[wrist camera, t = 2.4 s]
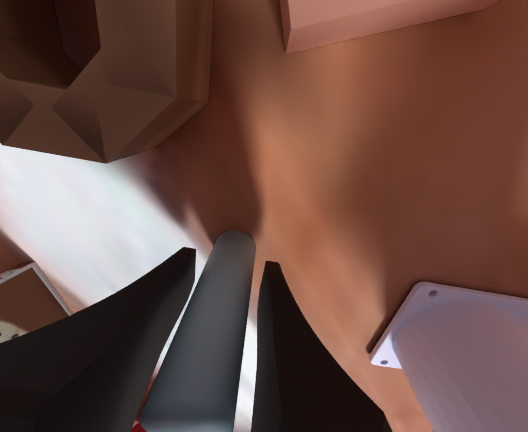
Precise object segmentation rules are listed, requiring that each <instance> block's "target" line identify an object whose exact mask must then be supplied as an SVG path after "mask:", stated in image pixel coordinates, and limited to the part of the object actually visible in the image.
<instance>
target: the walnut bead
mask: <svg viewBox="0 0 528 432" xmlns="http://www.w3.org/2000/svg"><path fill="white" fill-rule="evenodd" d="M95 6H96V14H97V21H98V29H99V36H100V44H101V49H100V50H99V52H98V53H97V54H96V55H95V56H94V58H93V59H92V60H91V61H90V62H89V64H88V65H87V66H86V67H85V68H84V69H83V71H82V72H81V71H80V69H79V68H78V67H77V66H76V65H75V64H74V63H73V62H72V60H71V59H70V58H69V57H68V56H67V55H66V54H65V53H64V51H63V50H62V46H61V40H60V35H59V30H58V25H57V20H56V15H55V10H54V5H53V0H0V143H1V144H2V145H5V146H10V147H16V148H22V149H27V150H33V151H39V152H44V153H50V154H56V155H61V156H67V157H72V158H78V159H84V160H89V161H95V162H101V163H109V162H112V161H115V160H118V159H122V158H125V157H128V156H131V155H134V154H137V153H140V152H143V151H146V150H149V149H152V148H155V147H158V146H159V145H160V144H161V143H162V142H163V141H164V140H166V139H167V138H168V137H169V136H170V135H171V134H172V133H173V132H175V131H176V130H177V129H178V128H179V127H180V126H181V125H183V124H184V123H185V122H186V121H187V120H188V119H189V118H191V117H192V116H193V115H194V114H195V113H196V112H197V111H199V110H200V109H201V108H202V107H203V106H204V105H205V104H207V103H208V102H209V90H210V70H211V51H212V32H213V13H214V0H95Z"/></svg>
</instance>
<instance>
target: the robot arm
mask: <svg viewBox="0 0 528 432" xmlns="http://www.w3.org/2000/svg"><path fill="white" fill-rule="evenodd" d="M195 262H196V249H193V248H187V247H183V248H181V249H180V250H179V251H177V252H176V253H175V254H173V255H172V256H171V257H169V258H168V259H167V260H165V261H164V262H163V263H161V264H160V265H158V266H157V267H156V268H154V269H153V270H151V271H150V272H148V273H147V274H145V275H144V276H142V277H141V278H139V279H138V280H136V281H135V282H133V283H131V284H130V285H128V286H127V287H125V288H123V289H122V290H120V291H118V292H116V293H114V294H113V295H111V296H109V297H107V298H105V299H103V300H101V301H99V302H97V303H95V304H93V305H91V306H89V307H87V308H85V309H83V310H81V311H78V312H76V313H74V314H72V315H70V316H68V317H65V318H63V319H61V320H58V321H56V322H54V323H51V324H49V325H46V326H44V327H41V328H39V329H36V330H34V331H31V332H29V333H26V334H24V335H21V336H18V337H16V338H13V339H10V340H7V341H4V342H2V343H0V432H131V429H132V427H133V424H134V421H135V419H136V416H137V413H138V410H139V408H140V405H141V402H142V400H143V397H144V395H145V392H146V390H147V387H148V384H149V382H150V379H151V377H152V374H153V372H154V369H155V367H156V364H157V362H158V359H159V357H160V354H161V352H162V350H163V348H164V346H165V343H166V342H167V340H168V338H169V336H170V334H171V332H172V330H173V328H174V326H175V324H176V322H177V320H178V318H179V316H180V314H181V312H182V310H183V308H184V306H185V304H186V302H187V300H188V298H189V295H190V292H191V290H192V287H193V284H194V281H195ZM369 359H370V362H371V363H372V364H374V365H379V366H386V367H393V368H399V369H403V371H404V373H405V375H406V377H407V379H408V381H409V383H410V385H411V387H412V389H413V391H414V393H415V395H416V397H417V399H418V402H419V404H420V406H421V408H422V410H423V412H424V414H425V416H426V418H427V420H428V422H429V424H430V426H431V428H432V430H433V432H528V299H526V298H520V297H514V296H508V295H502V294H496V293H490V292H484V291H478V290H472V289H466V288H460V287H454V286H448V285H442V284H436V283H430V282H419V283H417V284H416V285H415V286H414V287H413V288H412V290H411V291H410V293H409V295H408V296H407V298H406V299H405V301H404V302H403V304H402V305H401V307H400V309H399V310H398V312H397V313H396V315H395V316H394V318H393V319H392V321H391V322H390V324H389V326H388V327H387V329H386V330H385V332H384V333H383V335H382V336H381V338H380V340H379V341H378V343H377V344H376V346H375V347H374V349H373V350H372V352H371V353H370V355H369ZM251 432H392V430H391V428H390V425H389V423H388V421H387V419H386V417H385V414H384V412H383V411H382V410H381V409H380V408H379V407H378V406H377V405H376V404H375V403H374V402H373V401H372V400H371V399H370V398H369V397H368V396H367V395H366V394H365V393H364V392H363V391H362V390H361V389H360V388H359V387H358V385H357V384H356V383H355V382H354V381H353V380H352V379H351V378H350V377H349V376H348V374H347V373H346V372H345V371H344V370H343V369H342V368H341V366H340V365H339V364H338V363H337V361H336V360H335V359H334V358H333V356H332V355H331V354H330V353H329V351H328V350H327V349H326V348H325V346H324V345H323V344H322V342H321V341H320V340H319V338H318V337H317V335H316V334H315V333H314V331H313V330H312V328H311V327H310V325H309V324H308V322H307V320H306V319H305V317H304V315H303V314H302V312H301V310H300V308H299V307H298V305H297V303H296V301H295V299H294V297H293V295H292V293H291V291H290V289H289V287H288V285H287V282H286V280H285V278H284V275H283V273H282V270H281V267H280V264H279V263H278V262H272V261H266V263H265V268H264V272H263V277H262V281H261V286H260V290H259V299H258V309H257V371H256V383H255V394H254V405H253V416H252V427H251Z"/></svg>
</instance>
